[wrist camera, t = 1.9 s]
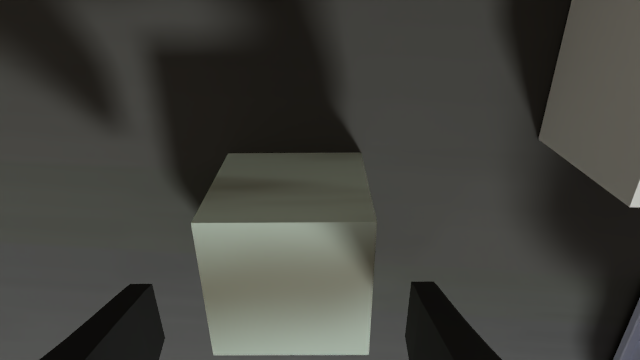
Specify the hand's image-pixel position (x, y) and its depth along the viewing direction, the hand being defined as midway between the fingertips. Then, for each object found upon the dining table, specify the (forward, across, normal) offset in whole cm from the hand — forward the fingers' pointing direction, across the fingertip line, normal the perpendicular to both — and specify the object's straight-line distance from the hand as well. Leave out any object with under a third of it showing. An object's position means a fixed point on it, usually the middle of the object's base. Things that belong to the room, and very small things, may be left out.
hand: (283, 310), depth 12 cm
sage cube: (+6, 0, 0) cm, 6 cm away
